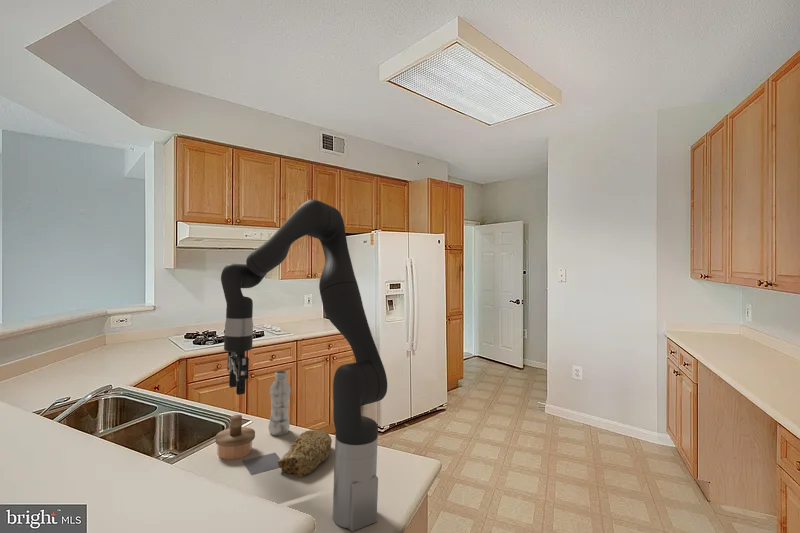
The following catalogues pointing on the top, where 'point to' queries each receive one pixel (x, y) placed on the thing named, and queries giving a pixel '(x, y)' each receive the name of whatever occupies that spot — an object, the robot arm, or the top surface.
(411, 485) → the top surface
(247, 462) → the mat
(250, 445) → the bowl
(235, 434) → the lid
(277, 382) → the plastic bottle
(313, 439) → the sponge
